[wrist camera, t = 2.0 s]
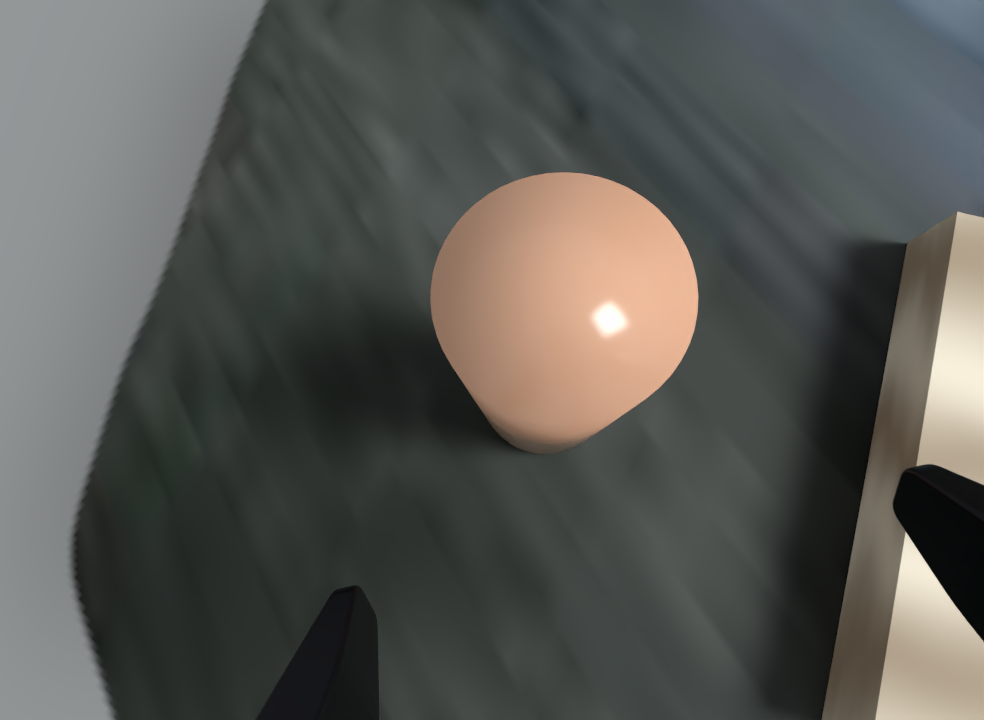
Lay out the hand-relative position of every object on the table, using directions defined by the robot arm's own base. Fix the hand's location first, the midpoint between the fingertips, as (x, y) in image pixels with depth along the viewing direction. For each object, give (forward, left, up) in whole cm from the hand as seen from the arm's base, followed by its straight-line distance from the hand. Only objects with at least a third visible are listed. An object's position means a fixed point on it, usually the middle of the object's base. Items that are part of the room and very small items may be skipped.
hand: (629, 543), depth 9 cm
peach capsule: (+4, +2, -11) cm, 12 cm away
